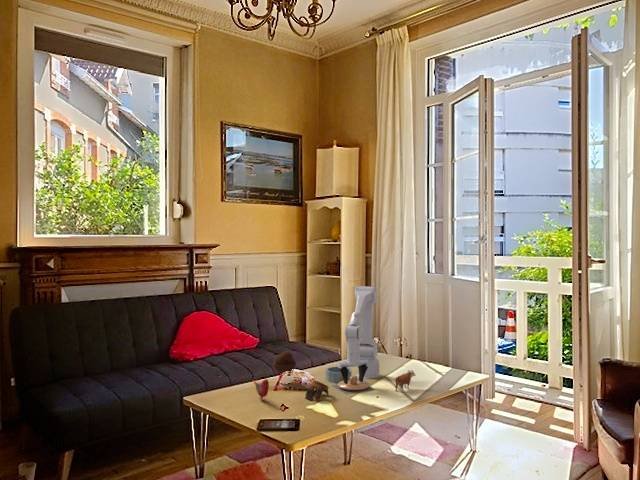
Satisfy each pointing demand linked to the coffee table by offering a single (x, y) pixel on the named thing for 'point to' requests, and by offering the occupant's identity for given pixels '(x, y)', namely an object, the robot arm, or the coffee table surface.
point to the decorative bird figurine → (262, 388)
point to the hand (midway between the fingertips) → (353, 382)
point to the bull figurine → (404, 379)
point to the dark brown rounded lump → (284, 362)
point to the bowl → (336, 374)
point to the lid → (353, 384)
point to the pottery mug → (316, 390)
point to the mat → (353, 390)
